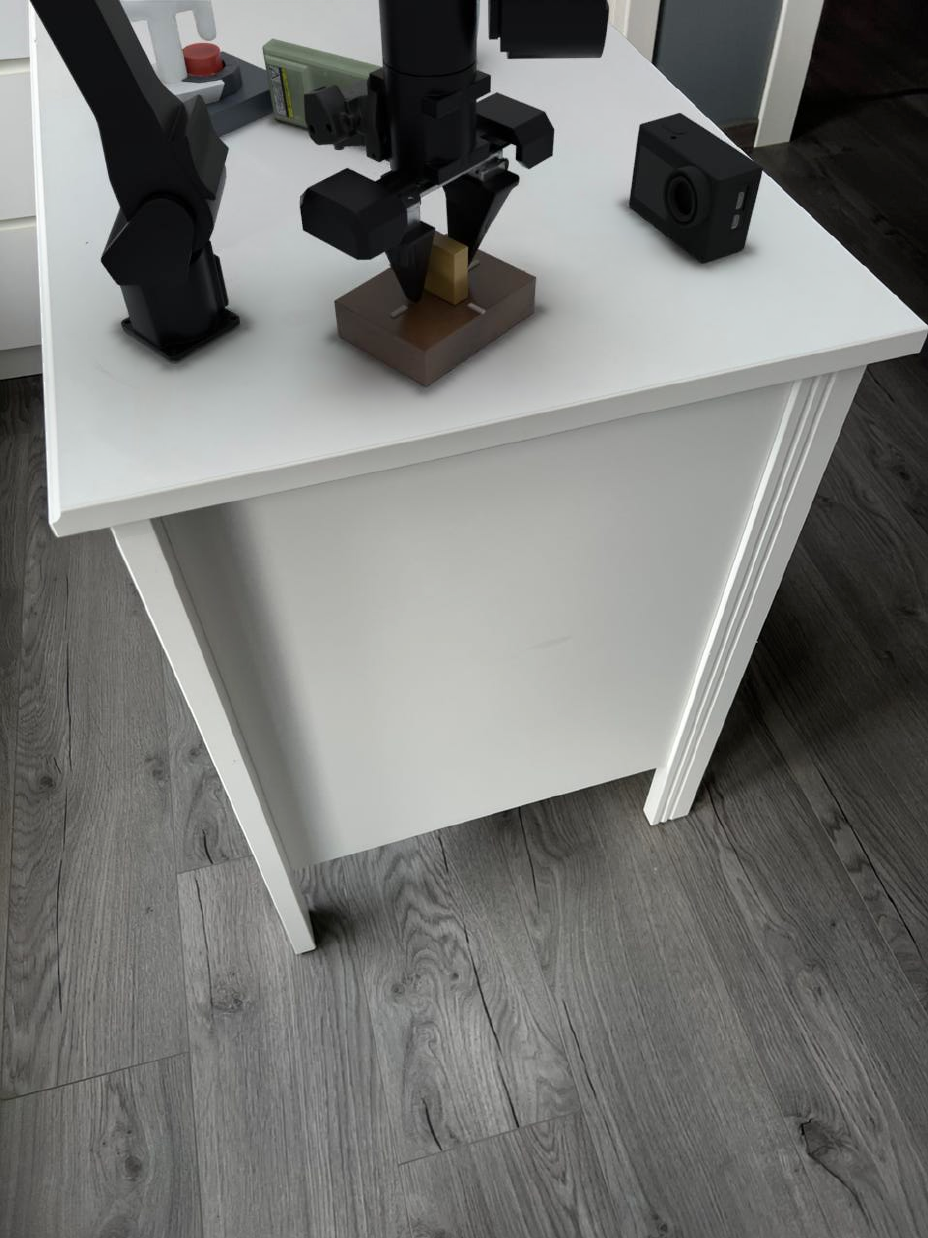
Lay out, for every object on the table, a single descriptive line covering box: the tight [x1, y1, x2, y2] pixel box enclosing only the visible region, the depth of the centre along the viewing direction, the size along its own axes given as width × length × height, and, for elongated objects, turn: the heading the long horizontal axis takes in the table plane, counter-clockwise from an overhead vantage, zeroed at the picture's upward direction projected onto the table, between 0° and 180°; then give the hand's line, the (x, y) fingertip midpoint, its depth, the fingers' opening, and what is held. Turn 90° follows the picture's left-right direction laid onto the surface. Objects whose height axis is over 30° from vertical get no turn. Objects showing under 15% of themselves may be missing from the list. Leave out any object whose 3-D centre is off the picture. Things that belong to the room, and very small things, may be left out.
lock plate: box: [333, 233, 537, 387], centre depth 74 cm, size 12×9×3 cm
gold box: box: [424, 229, 468, 305], centre depth 71 cm, size 5×1×4 cm, turn 47°
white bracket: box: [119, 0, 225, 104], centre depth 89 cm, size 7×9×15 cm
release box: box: [181, 50, 274, 138], centre depth 95 cm, size 12×10×4 cm
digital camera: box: [628, 112, 764, 264], centre depth 80 cm, size 10×5×7 cm, turn 29°
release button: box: [182, 42, 223, 76], centre depth 93 cm, size 4×4×2 cm
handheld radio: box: [261, 38, 510, 170], centre depth 89 cm, size 7×3×25 cm
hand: (436, 285), depth 72 cm, fingers open, 4 cm apart
